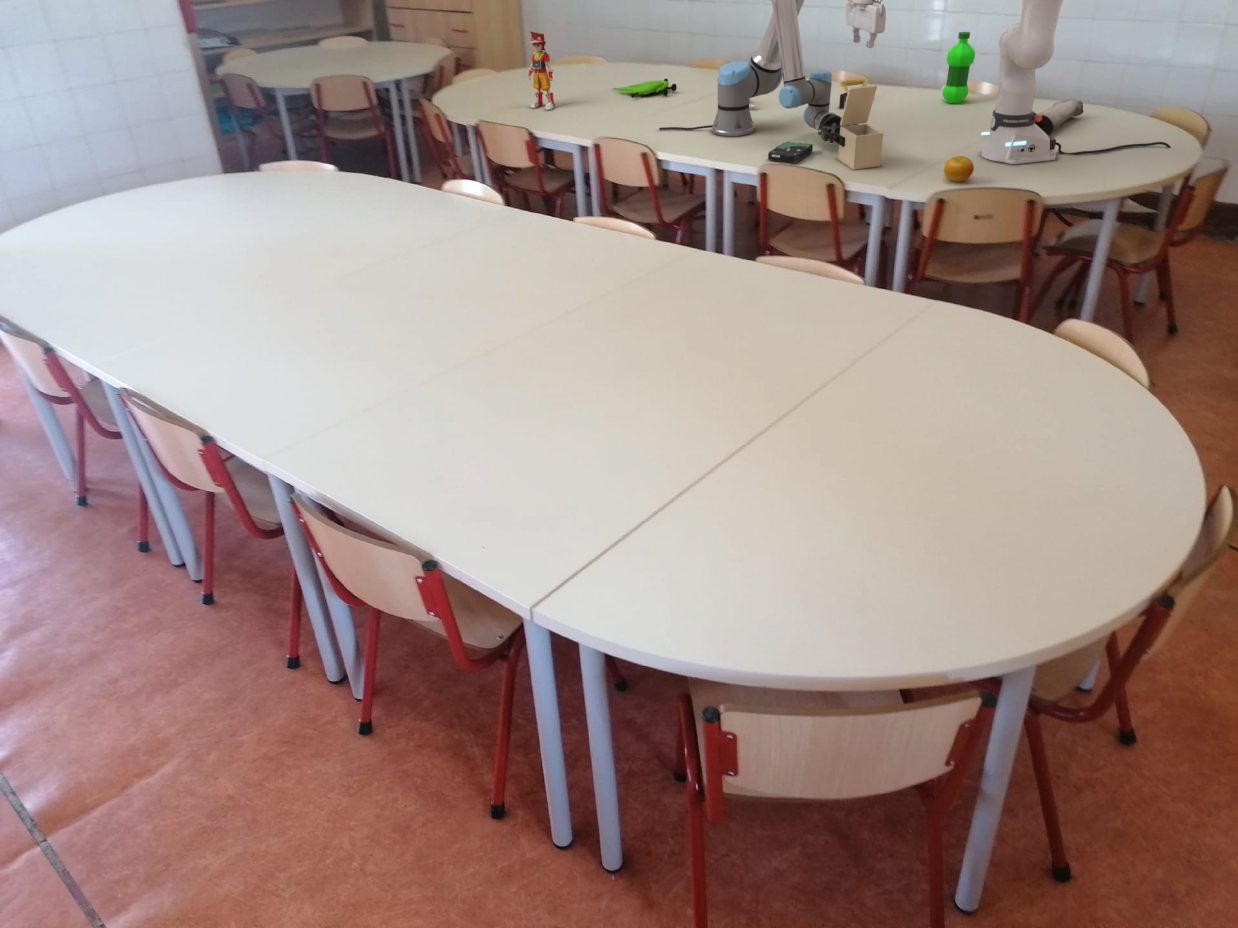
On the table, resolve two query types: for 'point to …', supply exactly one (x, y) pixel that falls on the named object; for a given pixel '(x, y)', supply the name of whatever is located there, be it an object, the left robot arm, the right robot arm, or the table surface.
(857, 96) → the lid
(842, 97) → the midi keyboard
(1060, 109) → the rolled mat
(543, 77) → the toy
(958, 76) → the plastic bottle
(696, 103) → the table surface
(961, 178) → the fruit
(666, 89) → the toy
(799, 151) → the disk drive
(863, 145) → the chest
